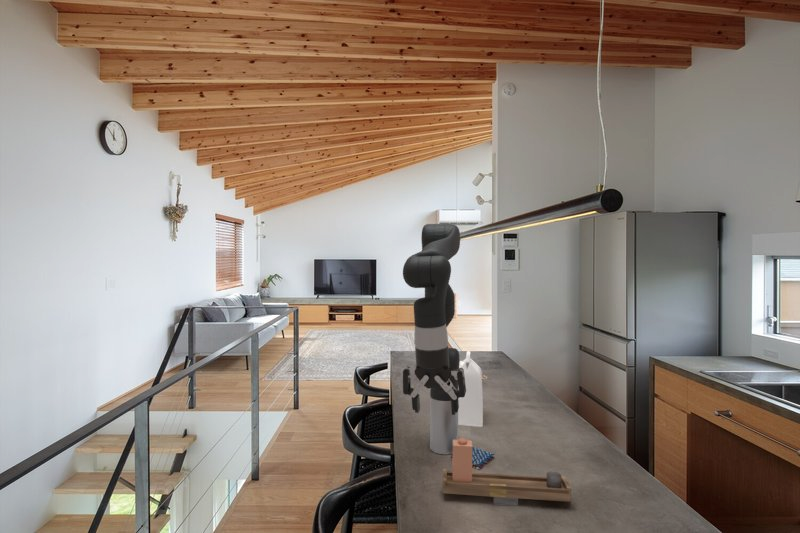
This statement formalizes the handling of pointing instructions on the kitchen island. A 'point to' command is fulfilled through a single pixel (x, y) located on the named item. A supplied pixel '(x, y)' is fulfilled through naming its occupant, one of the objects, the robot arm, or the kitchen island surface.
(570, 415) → the kitchen island surface
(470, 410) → the milk
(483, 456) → the woven mat
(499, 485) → the beam
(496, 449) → the kitchen island surface
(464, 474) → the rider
